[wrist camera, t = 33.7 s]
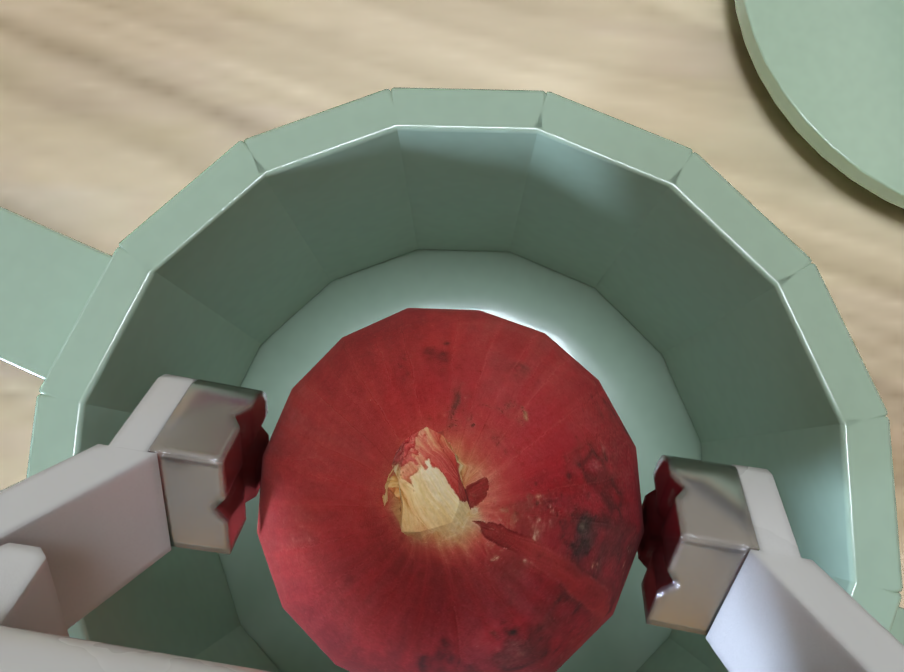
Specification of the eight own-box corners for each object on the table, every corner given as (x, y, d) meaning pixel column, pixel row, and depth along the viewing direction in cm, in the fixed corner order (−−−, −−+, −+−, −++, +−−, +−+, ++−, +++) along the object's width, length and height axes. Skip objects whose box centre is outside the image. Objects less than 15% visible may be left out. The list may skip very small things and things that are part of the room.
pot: (716, 935, 17) (912, 1279, 10) (-3, 581, 19) (-302, 649, 11) (901, 392, 19) (1172, 340, 12) (244, 116, 21) (130, -80, 14)
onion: (633, 414, 16) (811, 350, 8) (533, 688, 15) (621, 930, 7) (377, 311, 16) (302, 152, 8) (263, 570, 15) (54, 669, 7)
